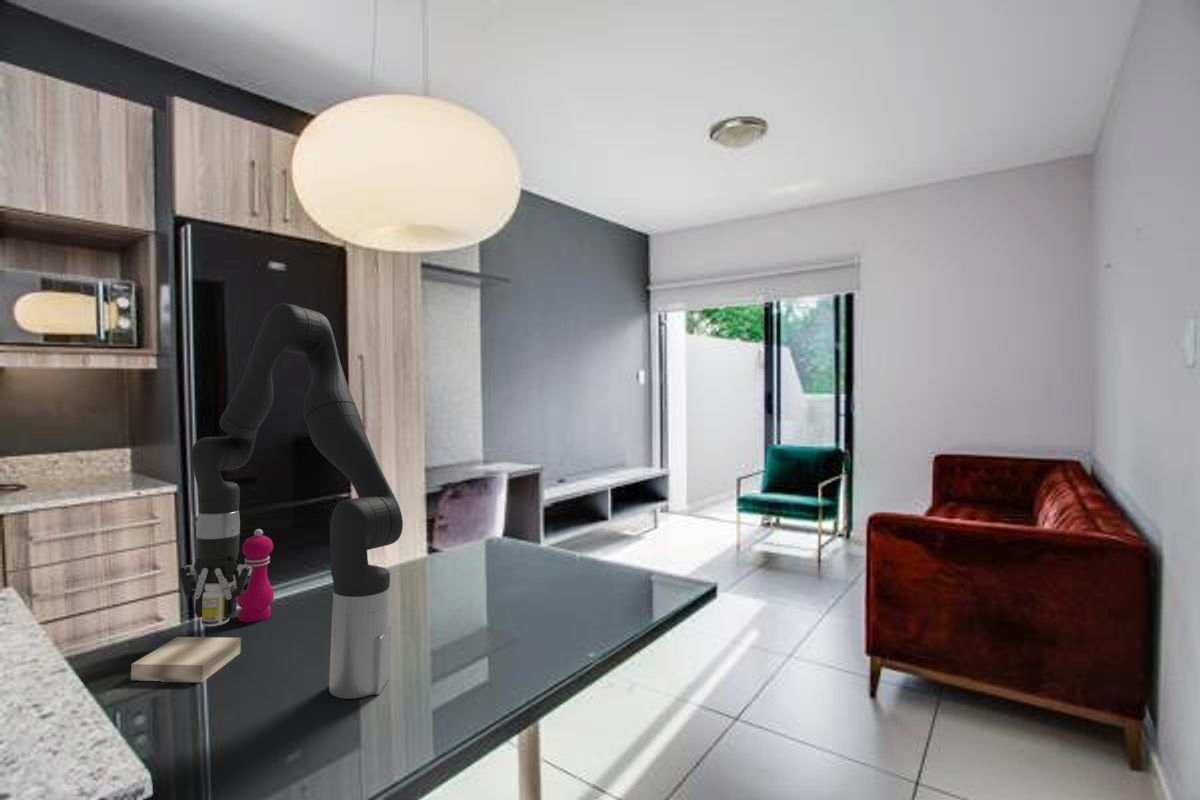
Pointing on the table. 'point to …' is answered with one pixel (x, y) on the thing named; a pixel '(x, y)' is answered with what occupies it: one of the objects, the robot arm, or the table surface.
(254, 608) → the pepper mill
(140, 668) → the birch block
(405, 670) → the table surface
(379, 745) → the table surface
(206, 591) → the supplement bottle
